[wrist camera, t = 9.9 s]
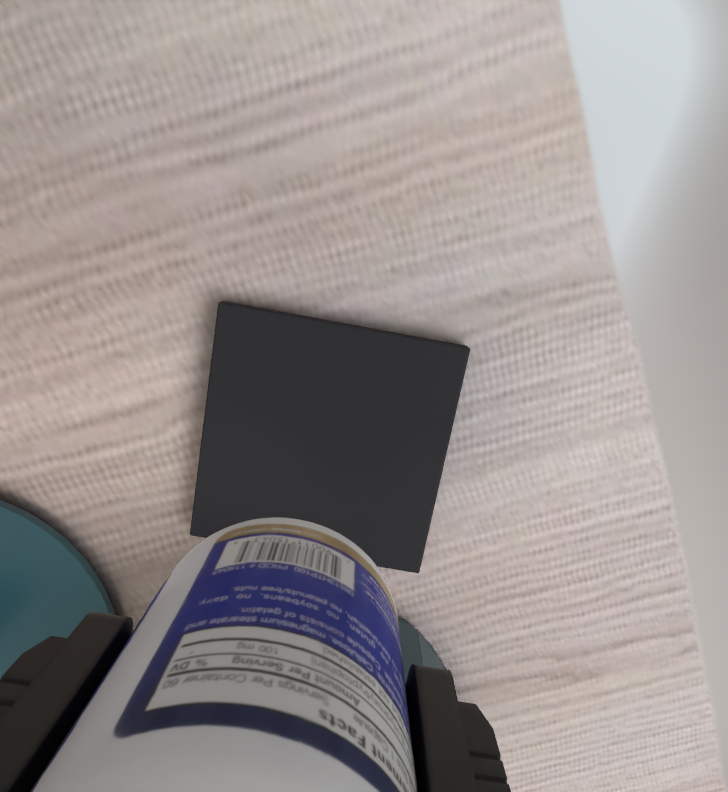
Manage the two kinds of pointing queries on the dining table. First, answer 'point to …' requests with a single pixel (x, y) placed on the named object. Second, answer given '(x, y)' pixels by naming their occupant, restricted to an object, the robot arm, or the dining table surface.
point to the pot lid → (41, 585)
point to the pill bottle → (252, 676)
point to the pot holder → (326, 429)
